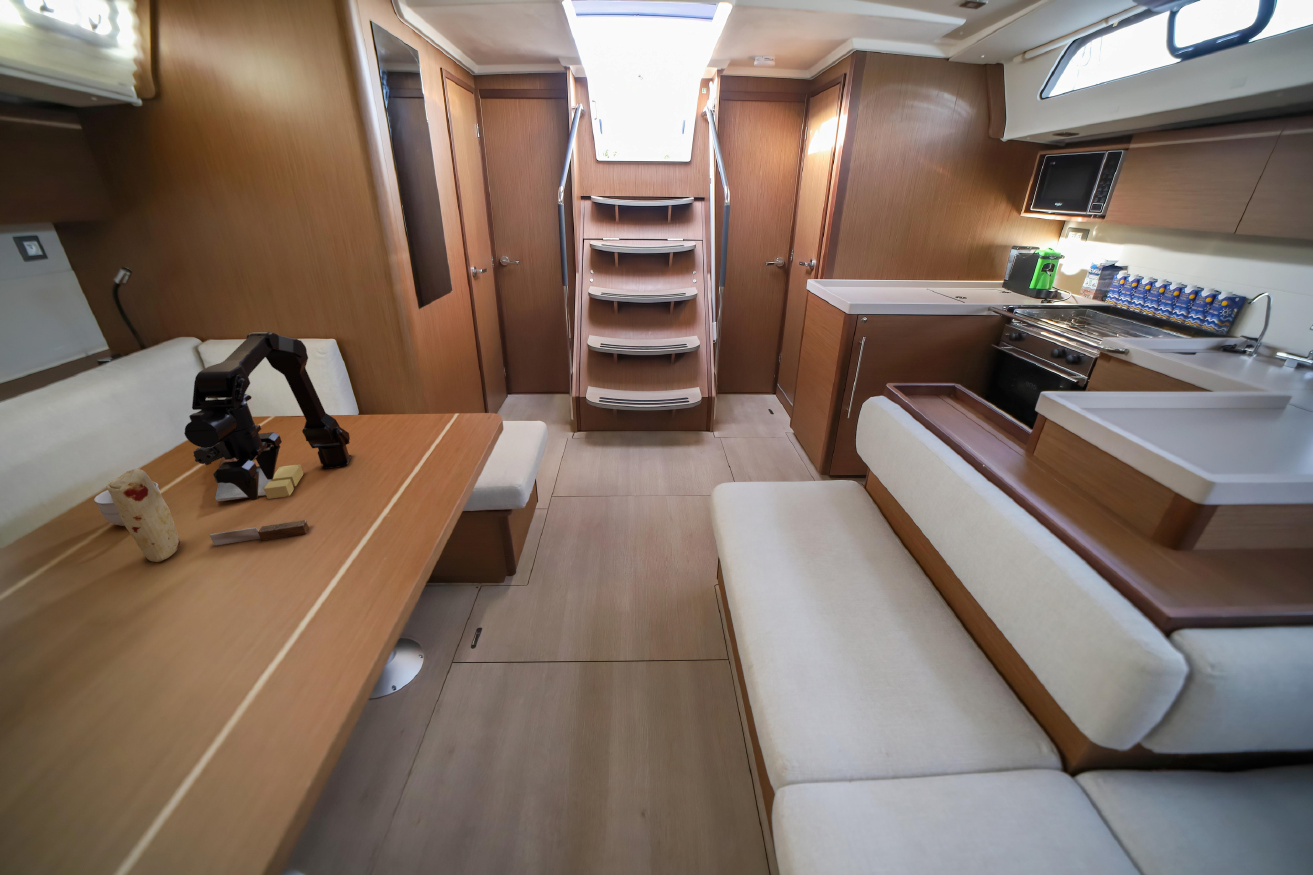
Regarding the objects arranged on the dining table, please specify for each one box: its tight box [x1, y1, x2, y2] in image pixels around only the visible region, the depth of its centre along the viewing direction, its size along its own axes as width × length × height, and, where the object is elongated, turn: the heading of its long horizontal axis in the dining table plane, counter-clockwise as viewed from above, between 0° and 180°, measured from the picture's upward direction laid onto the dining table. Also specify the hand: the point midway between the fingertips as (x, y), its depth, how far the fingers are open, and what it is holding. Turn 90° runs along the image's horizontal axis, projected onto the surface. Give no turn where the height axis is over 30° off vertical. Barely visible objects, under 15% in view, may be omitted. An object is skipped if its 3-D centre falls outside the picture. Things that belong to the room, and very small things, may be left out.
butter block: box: [271, 464, 304, 488], centre depth 138 cm, size 5×7×3 cm
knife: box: [209, 519, 309, 546], centre depth 115 cm, size 18×2×3 cm, turn 107°
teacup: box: [93, 481, 162, 527], centre depth 119 cm, size 14×11×8 cm
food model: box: [106, 468, 181, 563], centre depth 106 cm, size 10×7×20 cm
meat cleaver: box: [214, 457, 271, 502], centre depth 141 cm, size 34×11×4 cm, turn 36°
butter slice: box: [264, 479, 295, 500], centre depth 132 cm, size 5×4×3 cm
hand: (262, 488), depth 114 cm, fingers open, 9 cm apart
